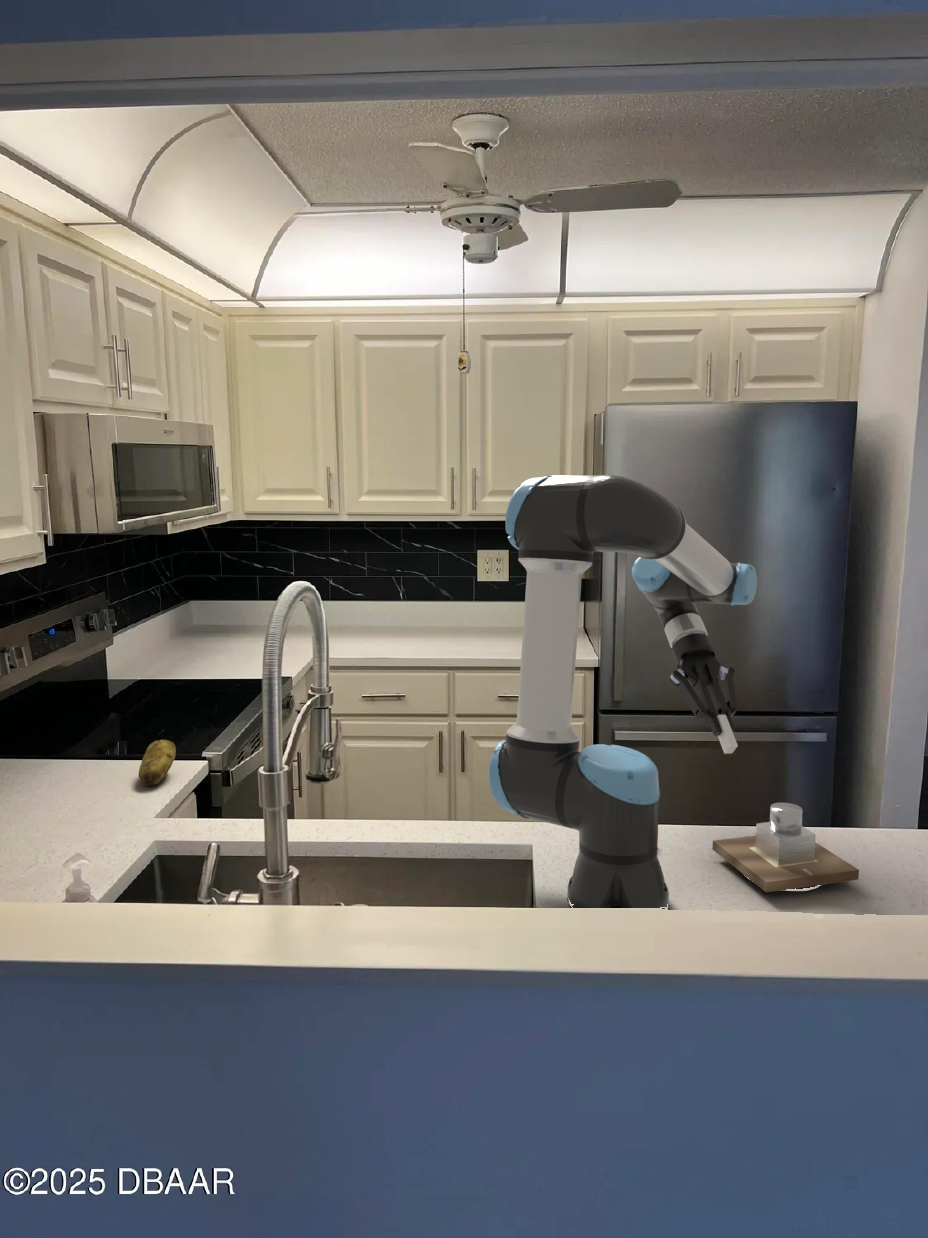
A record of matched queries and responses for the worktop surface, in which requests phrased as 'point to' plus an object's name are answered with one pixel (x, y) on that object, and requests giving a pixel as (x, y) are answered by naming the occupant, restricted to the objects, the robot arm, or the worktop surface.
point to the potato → (156, 762)
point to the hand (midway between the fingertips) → (731, 749)
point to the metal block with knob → (785, 836)
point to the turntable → (786, 876)
